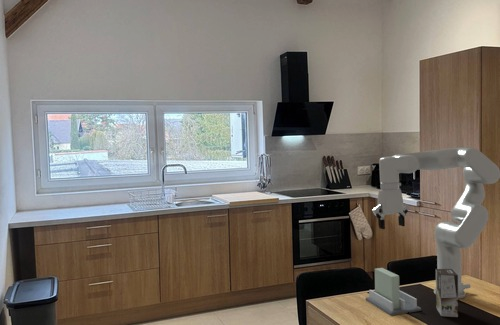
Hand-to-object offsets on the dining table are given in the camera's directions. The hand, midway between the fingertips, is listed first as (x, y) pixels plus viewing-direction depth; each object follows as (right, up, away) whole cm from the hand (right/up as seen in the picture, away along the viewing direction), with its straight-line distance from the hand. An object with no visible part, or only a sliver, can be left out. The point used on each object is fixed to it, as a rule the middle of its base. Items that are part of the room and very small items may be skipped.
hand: (391, 227), depth 185 cm
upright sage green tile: (-3, -31, -3) cm, 31 cm away
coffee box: (+18, -32, -12) cm, 38 cm away
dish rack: (-1, -32, -3) cm, 32 cm away
